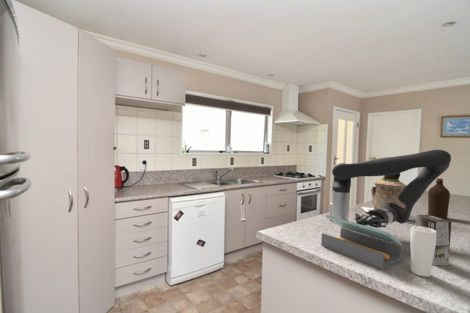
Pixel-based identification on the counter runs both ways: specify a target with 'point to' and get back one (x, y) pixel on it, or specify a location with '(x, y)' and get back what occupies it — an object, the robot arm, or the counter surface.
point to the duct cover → (365, 230)
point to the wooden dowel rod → (367, 248)
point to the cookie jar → (387, 193)
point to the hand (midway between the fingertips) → (358, 223)
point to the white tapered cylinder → (422, 250)
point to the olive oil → (438, 200)
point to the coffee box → (438, 236)
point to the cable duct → (361, 252)
